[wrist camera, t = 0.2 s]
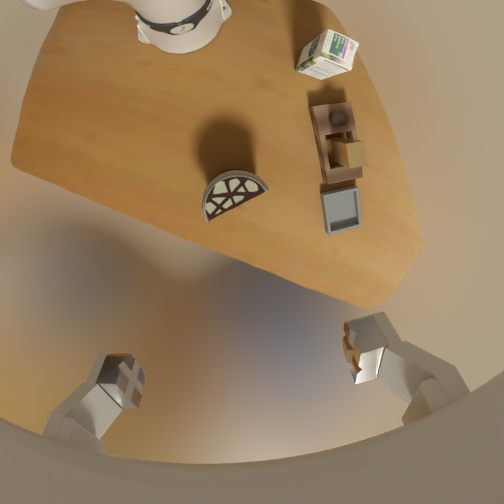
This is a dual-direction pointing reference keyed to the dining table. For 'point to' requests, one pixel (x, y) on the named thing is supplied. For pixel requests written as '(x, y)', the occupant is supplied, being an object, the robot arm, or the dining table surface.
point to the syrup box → (327, 55)
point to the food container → (230, 192)
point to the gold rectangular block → (346, 152)
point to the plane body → (332, 122)
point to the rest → (341, 209)
